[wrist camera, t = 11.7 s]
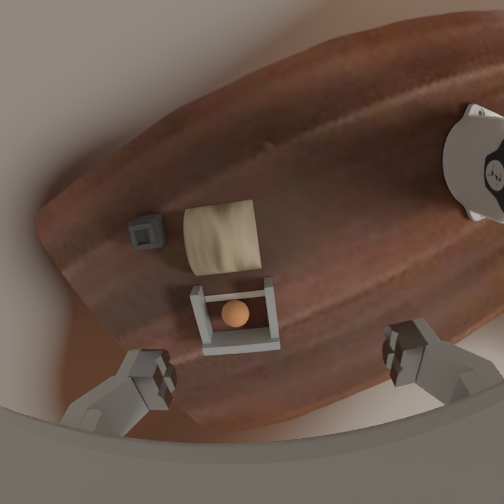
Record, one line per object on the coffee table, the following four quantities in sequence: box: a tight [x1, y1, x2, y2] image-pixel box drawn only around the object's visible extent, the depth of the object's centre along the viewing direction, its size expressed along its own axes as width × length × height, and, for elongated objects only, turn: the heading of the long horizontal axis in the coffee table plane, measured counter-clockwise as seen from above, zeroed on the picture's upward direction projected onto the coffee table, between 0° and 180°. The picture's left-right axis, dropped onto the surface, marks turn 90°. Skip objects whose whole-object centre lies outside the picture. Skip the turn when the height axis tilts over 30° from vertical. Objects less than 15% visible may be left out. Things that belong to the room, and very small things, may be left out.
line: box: [205, 290, 265, 302], centre depth 45 cm, size 9×1×1 cm, turn 98°
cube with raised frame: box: [128, 213, 168, 251], centre depth 39 cm, size 4×4×4 cm
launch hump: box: [183, 200, 262, 276], centre depth 42 cm, size 9×10×10 cm
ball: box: [222, 300, 249, 327], centre depth 44 cm, size 4×4×4 cm
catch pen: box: [190, 277, 280, 356], centre depth 44 cm, size 12×10×4 cm
